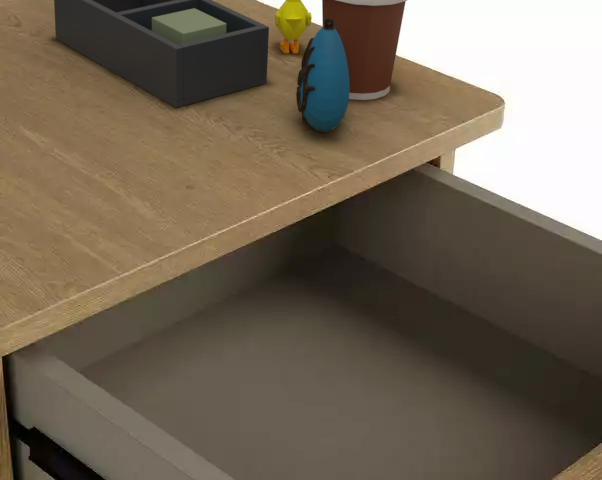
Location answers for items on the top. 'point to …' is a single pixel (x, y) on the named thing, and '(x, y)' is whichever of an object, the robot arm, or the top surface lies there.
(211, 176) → the top surface
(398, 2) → the coffee cup
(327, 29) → the ornament
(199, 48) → the dark grey divided tray
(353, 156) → the top surface
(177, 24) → the sage block
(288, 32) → the toy figure
